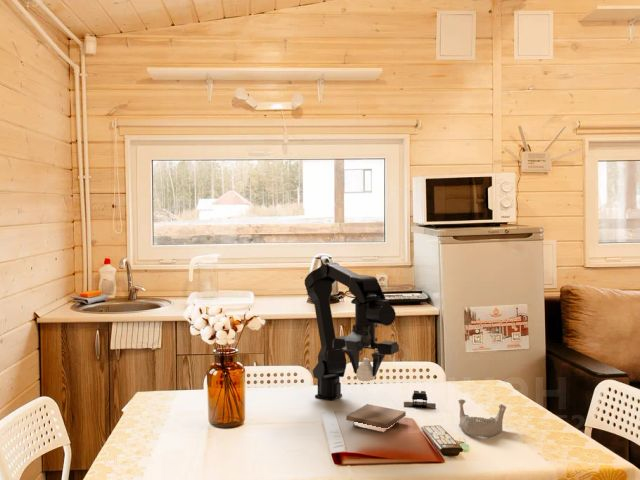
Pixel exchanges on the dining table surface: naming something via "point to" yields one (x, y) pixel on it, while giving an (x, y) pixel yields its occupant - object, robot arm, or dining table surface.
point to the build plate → (420, 404)
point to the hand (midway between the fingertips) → (365, 374)
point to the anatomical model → (481, 423)
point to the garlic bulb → (365, 371)
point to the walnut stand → (376, 416)
